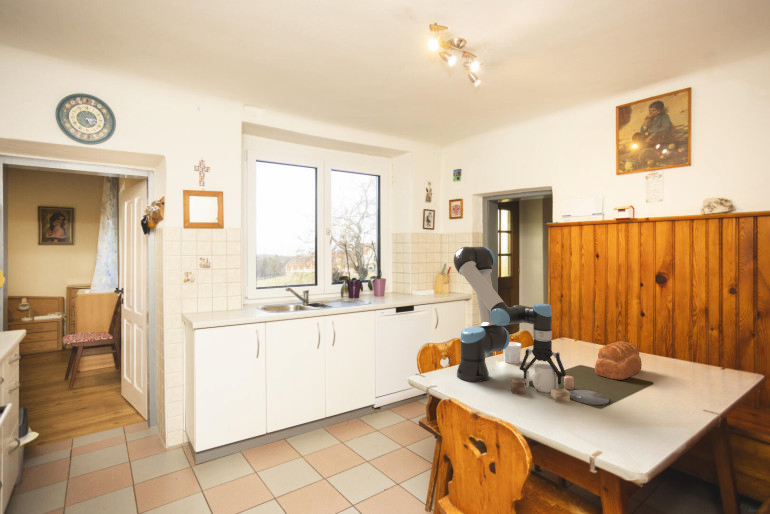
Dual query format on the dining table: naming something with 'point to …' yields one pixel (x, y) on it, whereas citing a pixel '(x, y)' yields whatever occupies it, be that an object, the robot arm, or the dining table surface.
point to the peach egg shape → (569, 382)
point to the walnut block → (517, 386)
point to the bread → (618, 361)
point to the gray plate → (589, 397)
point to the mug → (544, 378)
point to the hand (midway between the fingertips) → (542, 388)
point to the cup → (512, 353)
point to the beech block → (560, 395)
